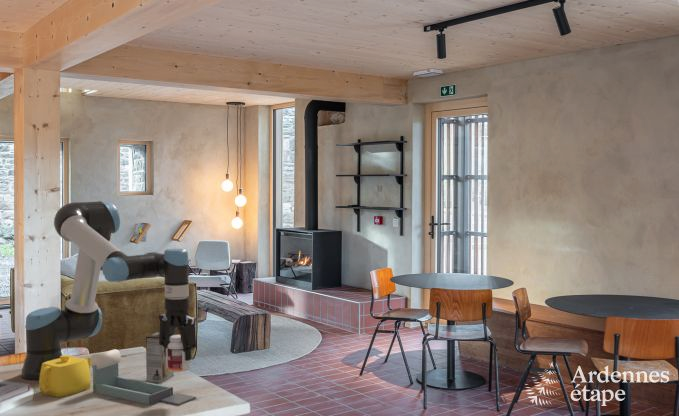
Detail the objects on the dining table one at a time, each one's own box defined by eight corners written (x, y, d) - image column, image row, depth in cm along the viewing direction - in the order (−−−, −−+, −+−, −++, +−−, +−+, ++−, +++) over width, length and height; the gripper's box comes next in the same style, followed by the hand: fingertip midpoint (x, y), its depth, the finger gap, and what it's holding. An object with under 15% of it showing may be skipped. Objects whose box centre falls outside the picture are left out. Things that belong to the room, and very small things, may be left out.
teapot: (80, 379, 258) (80, 346, 258) (104, 385, 252) (103, 351, 251) (29, 394, 242) (29, 358, 241) (53, 400, 235) (52, 364, 234)
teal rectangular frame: (89, 391, 244) (88, 354, 244) (112, 383, 253) (111, 348, 252) (150, 404, 231) (150, 365, 230) (172, 396, 239) (172, 358, 238)
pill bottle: (169, 367, 238) (168, 334, 237) (188, 367, 238) (188, 333, 238) (166, 373, 231) (166, 338, 231) (186, 372, 232) (186, 338, 231)
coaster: (159, 401, 234) (159, 399, 234) (177, 394, 241) (177, 392, 241) (178, 405, 230) (178, 403, 230) (195, 398, 237) (195, 396, 237)
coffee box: (157, 374, 265) (157, 330, 264) (174, 375, 263) (173, 331, 262) (145, 381, 256) (145, 336, 255) (163, 382, 254) (162, 337, 253)
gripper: (146, 296, 235) (147, 367, 236) (191, 301, 226) (192, 375, 227) (162, 293, 242) (163, 362, 243) (207, 298, 232) (208, 370, 233)
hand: (177, 368), depth 235 cm, fingers closed on pill bottle, 6 cm apart
